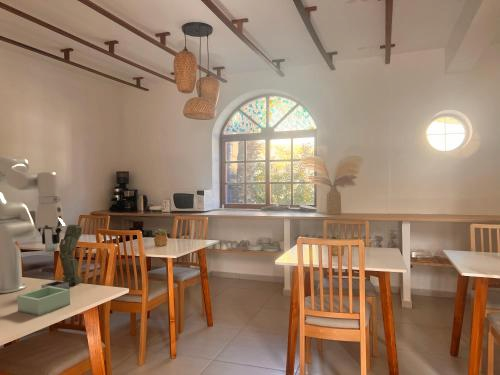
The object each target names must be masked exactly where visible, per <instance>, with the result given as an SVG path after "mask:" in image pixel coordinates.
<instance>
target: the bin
mask: <svg viewBox="0 0 500 375" xmlns="http://www.w3.org/2000/svg"><path fill="white" fill-rule="evenodd" d="M16 300H17V311H18V312H20V313H23V314H24V313H25V314H28V315H33V316H37V317H39V316H42V315H45V314H46V315H47V313H51V312H53V311H56V310H59V309H62V308H64V307H67V306H69V305H71V290H68V289H62V288H57V287H51V286H48V287H45V288H42V289H41V288H39V289H36V290H31V291H28V292H26V293H22V294H18V295H17V296H16Z"/></svg>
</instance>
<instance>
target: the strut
mask: <svg viewBox="0 0 500 375" xmlns="http://www.w3.org/2000/svg"><path fill="white" fill-rule="evenodd" d="M44 233H45V244H44V246H45V247H44V249H45V253H52V252H56V251H58V243H57V244H53V237H52V235H54V233H53V230H52V228H50V227H48V226H47V225H45V227H44Z"/></svg>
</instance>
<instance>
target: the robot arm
mask: <svg viewBox="0 0 500 375" xmlns="http://www.w3.org/2000/svg"><path fill="white" fill-rule="evenodd" d="M29 170H30V164H29V161H28V159H26V158H25V157H22V156H11V155H10V156H8V155H2V156H0V185H1V186H2V185H8V186H9V187H10V188H11V187H12V188H13V189H16V190H19V191H32V190H33V191H34V190H35V191H37V203H38V204H37V207H36V214H35V215H36V218H35V219H36V220H35V222H36V223H35V222H34V219H33V217H32V215H31V213H30V211H29V208H28V206H27V205H26V204H25V203H24V202H21V201H8V200H6V197H5V195H4V192H2V191H1V190H0V294H9V293H13V292H17V291H18V292H19V291H21V290H23V289H25V288H26V287H27V283H24V282H23V274H22V273H23V271H22V256H21V254H22V253H21V249H20V247H19V246H18V245H17V242H22V241H27V240H31V239H33V238H34V237H35V236H36V233H37V231H38V233H39V234H40V235H41V243H42V245H45V233H44V227H45V225H47V226H48V227H50V228H52V230H53V233H54V235H52V237H53V244H57V245H58V244H60V234H61V232H62V231H63V229H65V228H67V227H66V224H65V219H64V212H63V207H62V205H61V203H60V202H59V201H61V197H59V184H58V175H57V173H56V172H55V171H41V172H40V171H39V172H36V171H35V172H34V171H33V172H30V171H29ZM28 171H29V172H28Z"/></svg>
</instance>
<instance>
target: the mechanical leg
mask: <svg viewBox="0 0 500 375" xmlns="http://www.w3.org/2000/svg"><path fill="white" fill-rule="evenodd" d="M82 230H83V226H81V225H78V224H68V225H67V227H66V229H65V233H64V236H63V238H61V240H60V241H59V246H58V247H59V248H58V249H59V252H58V256H59V259H60V263H61V267H62V271H63V273H64V278H63V280H62V281H64V282H69V287H70V288H72V287H75V286H77V285H79V284H82V283H83V282H84V278H83V277H80V276H79V274H78V259H77V258H74V251H75V250H76V247H77V244H78V241H79V240H80V237H81V236H82V232H83V231H82Z"/></svg>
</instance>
